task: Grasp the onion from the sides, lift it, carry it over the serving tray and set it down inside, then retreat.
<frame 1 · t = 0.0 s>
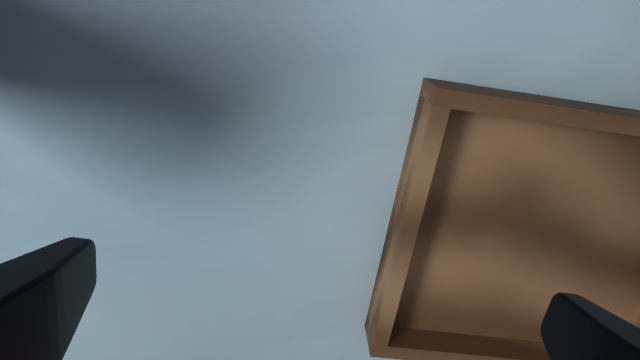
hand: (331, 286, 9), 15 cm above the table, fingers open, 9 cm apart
tray: (530, 233, 26), on the table
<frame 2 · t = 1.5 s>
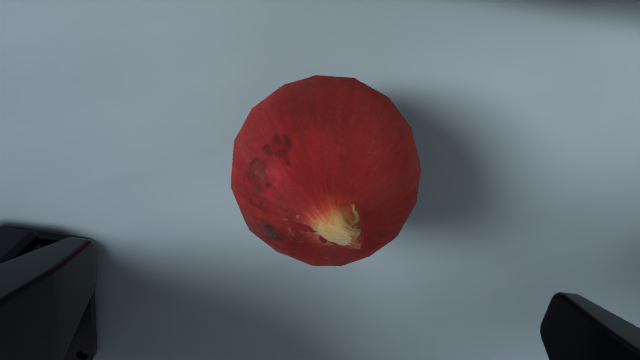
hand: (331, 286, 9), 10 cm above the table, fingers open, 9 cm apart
onion: (321, 133, 18), on the table
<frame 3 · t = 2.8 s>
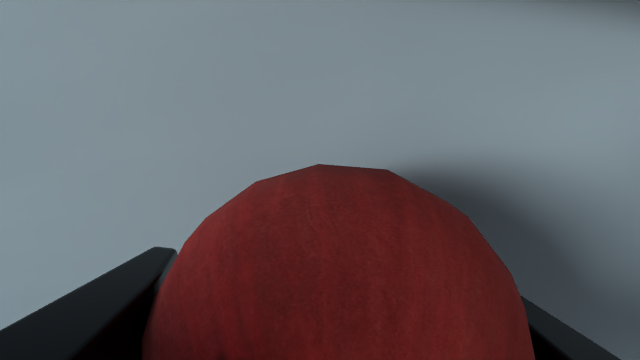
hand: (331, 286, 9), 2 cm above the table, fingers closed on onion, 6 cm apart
onion: (325, 230, 11), on the table, touching gripper
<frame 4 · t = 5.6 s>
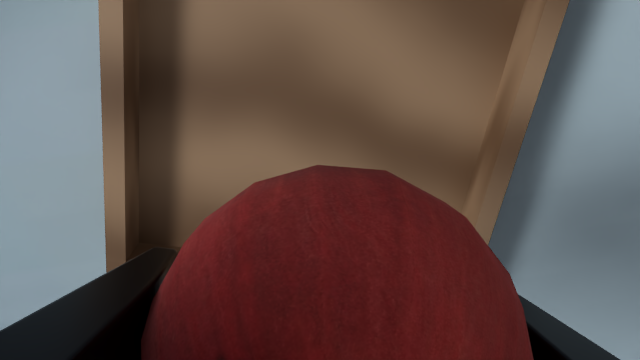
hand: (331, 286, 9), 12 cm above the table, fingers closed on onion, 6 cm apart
onion: (323, 230, 11), point 10 cm above the table, touching gripper
tray: (315, 118, 20), on the table
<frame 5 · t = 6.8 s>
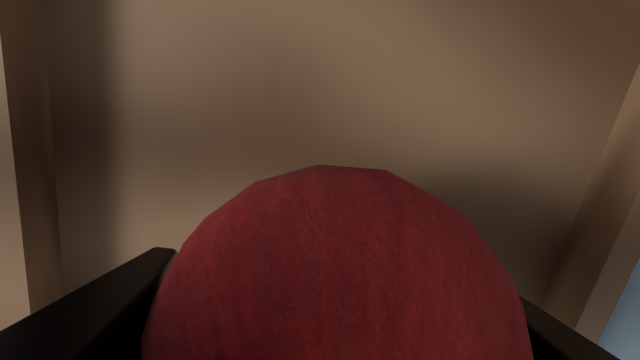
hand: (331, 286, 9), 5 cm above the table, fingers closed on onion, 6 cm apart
onion: (323, 230, 11), point 3 cm above the table, touching gripper
tray: (324, 182, 13), on the table
when the fingers open (4 cm above the table, at t = 7.9 s): onion drops 1 cm, resting on tray.
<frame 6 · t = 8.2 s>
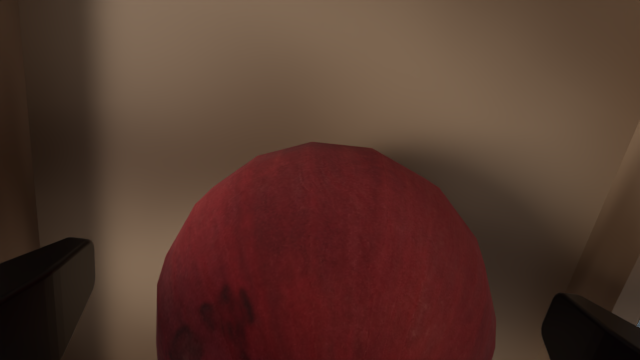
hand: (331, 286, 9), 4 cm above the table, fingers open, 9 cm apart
onion: (319, 210, 12), point 1 cm above the table, touching tray
tray: (323, 197, 13), on the table
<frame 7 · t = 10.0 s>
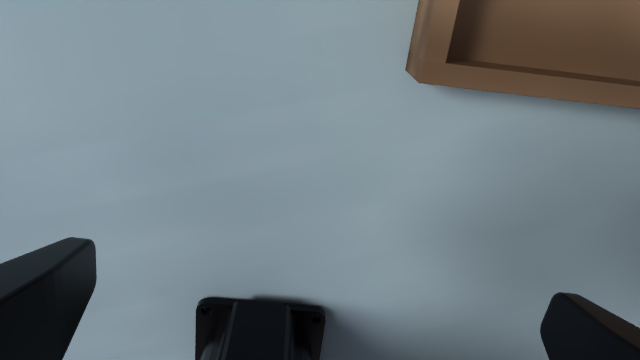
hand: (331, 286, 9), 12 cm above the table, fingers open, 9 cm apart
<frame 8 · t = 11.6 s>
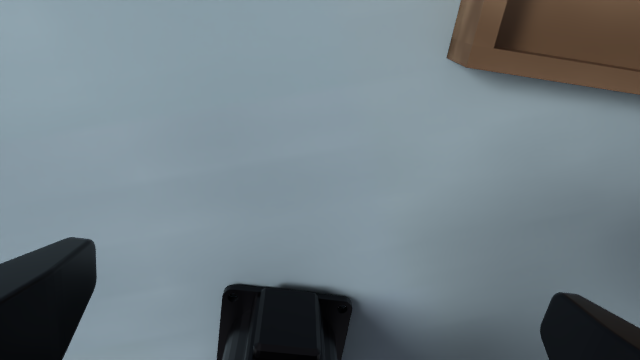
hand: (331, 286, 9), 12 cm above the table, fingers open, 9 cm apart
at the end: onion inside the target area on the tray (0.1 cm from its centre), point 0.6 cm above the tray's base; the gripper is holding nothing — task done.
